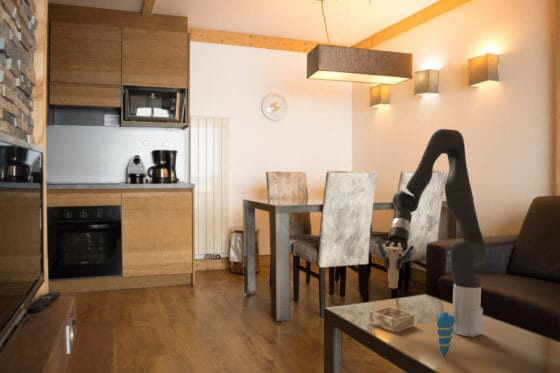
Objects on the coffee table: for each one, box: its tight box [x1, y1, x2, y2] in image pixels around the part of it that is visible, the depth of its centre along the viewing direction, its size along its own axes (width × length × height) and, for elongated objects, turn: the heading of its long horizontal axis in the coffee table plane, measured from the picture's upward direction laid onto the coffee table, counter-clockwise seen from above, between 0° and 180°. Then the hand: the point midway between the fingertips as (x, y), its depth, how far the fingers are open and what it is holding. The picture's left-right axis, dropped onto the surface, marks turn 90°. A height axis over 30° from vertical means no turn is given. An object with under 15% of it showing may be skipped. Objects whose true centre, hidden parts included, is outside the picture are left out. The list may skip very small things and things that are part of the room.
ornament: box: [436, 309, 455, 358], centre depth 143 cm, size 5×5×15 cm
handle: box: [384, 247, 403, 289], centre depth 173 cm, size 5×6×15 cm
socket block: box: [369, 306, 415, 333], centre depth 173 cm, size 12×12×5 cm
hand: (392, 267), depth 171 cm, fingers closed on handle, 3 cm apart
